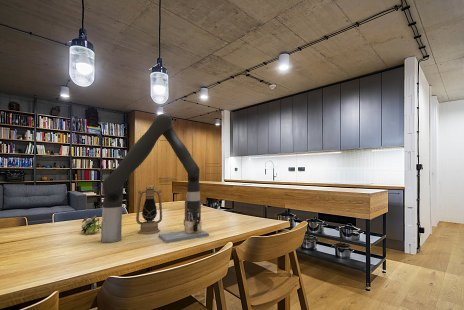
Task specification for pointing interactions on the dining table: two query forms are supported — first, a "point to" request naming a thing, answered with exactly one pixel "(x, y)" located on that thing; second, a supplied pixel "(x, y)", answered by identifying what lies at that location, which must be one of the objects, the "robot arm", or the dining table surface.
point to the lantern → (149, 211)
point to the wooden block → (188, 209)
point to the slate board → (180, 236)
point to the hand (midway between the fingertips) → (193, 230)
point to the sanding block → (190, 227)
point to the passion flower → (86, 225)
